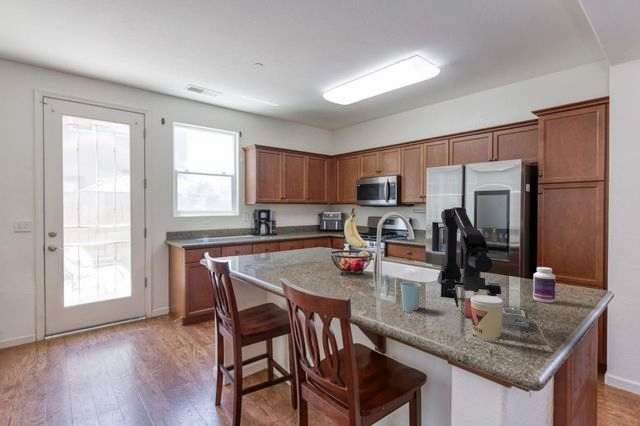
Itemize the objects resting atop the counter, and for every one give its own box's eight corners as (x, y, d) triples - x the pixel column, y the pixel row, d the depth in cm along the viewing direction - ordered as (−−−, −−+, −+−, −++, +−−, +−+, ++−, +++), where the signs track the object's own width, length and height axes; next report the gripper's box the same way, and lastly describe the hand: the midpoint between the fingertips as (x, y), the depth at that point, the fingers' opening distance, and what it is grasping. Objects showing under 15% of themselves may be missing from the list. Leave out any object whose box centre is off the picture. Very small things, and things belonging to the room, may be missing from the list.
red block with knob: (465, 315, 119) (465, 299, 119) (465, 312, 122) (465, 296, 122) (477, 317, 117) (477, 301, 117) (477, 313, 121) (477, 298, 120)
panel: (463, 320, 116) (463, 314, 116) (464, 305, 134) (464, 300, 134) (529, 330, 108) (529, 324, 108) (521, 313, 126) (521, 307, 126)
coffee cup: (464, 331, 107) (464, 294, 106) (491, 330, 107) (491, 294, 107) (480, 343, 97) (481, 303, 97) (510, 342, 98) (510, 302, 98)
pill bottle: (559, 304, 138) (559, 270, 137) (537, 302, 139) (538, 269, 139) (549, 298, 146) (550, 266, 145) (529, 297, 147) (530, 266, 147)
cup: (413, 307, 132) (413, 281, 132) (424, 313, 125) (425, 286, 124) (396, 308, 130) (397, 282, 129) (407, 314, 122) (407, 287, 122)
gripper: (442, 268, 116) (442, 311, 116) (502, 273, 108) (501, 320, 108) (445, 263, 126) (444, 303, 126) (500, 267, 118) (499, 310, 118)
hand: (471, 309), depth 120 cm, fingers open, 9 cm apart
